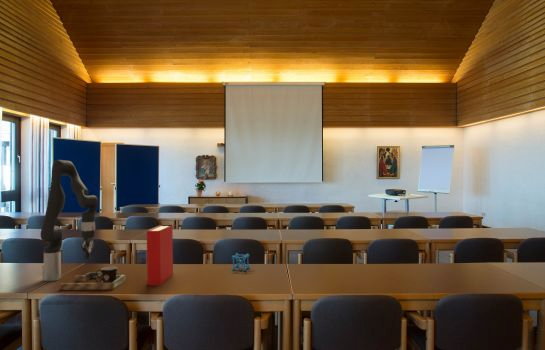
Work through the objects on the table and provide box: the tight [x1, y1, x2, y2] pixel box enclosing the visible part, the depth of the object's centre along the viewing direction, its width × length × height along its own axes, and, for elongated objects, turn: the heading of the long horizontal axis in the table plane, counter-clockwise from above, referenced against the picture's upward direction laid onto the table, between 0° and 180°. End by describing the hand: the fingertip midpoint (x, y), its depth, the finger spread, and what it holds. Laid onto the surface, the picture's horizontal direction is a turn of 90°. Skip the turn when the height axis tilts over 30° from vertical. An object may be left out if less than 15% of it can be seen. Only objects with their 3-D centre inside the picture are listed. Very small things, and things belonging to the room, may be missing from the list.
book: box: [146, 224, 174, 286], centre depth 254 cm, size 27×8×32 cm, turn 178°
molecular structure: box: [231, 253, 251, 272], centre depth 278 cm, size 10×10×10 cm
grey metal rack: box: [59, 271, 126, 291], centre depth 246 cm, size 30×27×4 cm
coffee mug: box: [95, 266, 118, 283], centre depth 242 cm, size 12×9×10 cm
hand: (87, 258), depth 242 cm, fingers closed
